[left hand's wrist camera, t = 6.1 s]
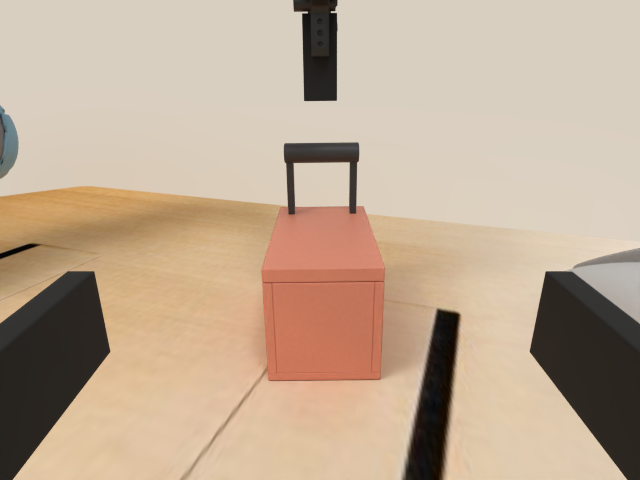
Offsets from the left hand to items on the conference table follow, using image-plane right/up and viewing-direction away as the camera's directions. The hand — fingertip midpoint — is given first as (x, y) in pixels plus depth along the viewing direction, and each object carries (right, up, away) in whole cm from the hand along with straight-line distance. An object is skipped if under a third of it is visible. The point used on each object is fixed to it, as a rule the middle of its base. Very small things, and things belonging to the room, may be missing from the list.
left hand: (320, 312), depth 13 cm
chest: (0, -7, +32) cm, 33 cm away
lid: (0, +2, +29) cm, 29 cm away
